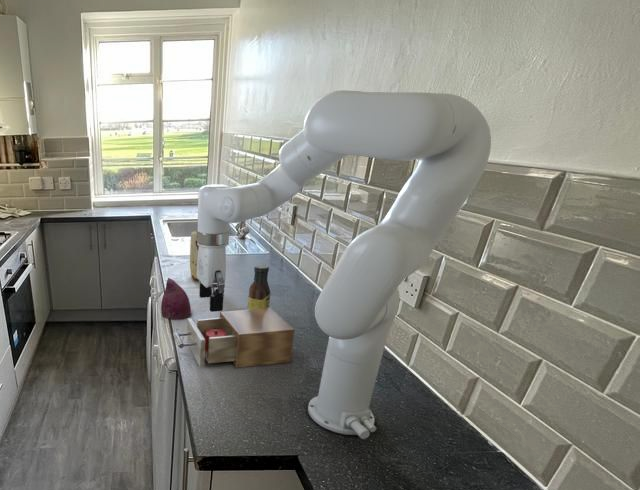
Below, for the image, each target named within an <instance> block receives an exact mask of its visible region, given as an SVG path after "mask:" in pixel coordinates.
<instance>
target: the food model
mask: <svg viewBox="0 0 640 490" xmlns="http://www.w3.org/2000/svg"><path fill="white" fill-rule="evenodd" d="M197 231H198V230H195V231H192V232H191V234H190V244H189V245H190V246H189V270H190V276H191V279H193V280H194V281H199V279H198V278H197V259H198V248H199V246H198V245H197Z"/></svg>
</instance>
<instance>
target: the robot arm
mask: <svg viewBox="0 0 640 490" xmlns="http://www.w3.org/2000/svg"><path fill="white" fill-rule="evenodd" d="M303 122H304V123H303V129H301V131H299V132H298V133H297V134H295V135H294V136H293V137H292V138H291V139H289V140H288V141H287V142H285V143H284V144H283V145H281V147H280V149H279V152H278V161H279V164H278V165H277V166H276V167H275V168H274V169H272V171H270V172H269V173H267V175H265V176H264V177H262V178H261V179H260V180H258V181H256V182H254V183H249V184H244V185H238V186H233V187H230V186H229V185H227V184H206V185H203V186H201V187H200V188H199V190H198V195H197V230H196V231H197V245H198V246H199V248H198V259H197V278H198V279H199V280H198V281H199V295H198V296H199V298H200V299H204V298H209V312H211V313H214V312H223V310H224V297H225V286H226V277H227V276H226V274H227V251H226V250H227V249H226V247H228V246H229V244H230V243H229V242H230V226H231V225H230V224H237V223H242V222H245V221H248V220H253V219H256V218H260V217H263V216H265V215H267V214H270V213H271V212H273V211H274V210H276V209H277V208H279V207H281V206H282V205H283V204H285V203H286V202H288V201H290V200H291V199H292V198H293V197H295V196H296V195H297V194H298V193H300V191H301V190H302V189H304V188H305V187H306V186H307V184H308V183H309V182H311V181H312V180H313V179H315V178H317V177H318V176H320V175H321V174H322V173H324V172H325V171H327V170H328V169H330V168H331V167H333V166H334V165H335V164H337V163H339V162H340V161H342V160H343V159H345V158H346V157H348V156H356V157H364V158H372V159H380V160H389V161H399V162H400V161H404V162H405V161H406V162H407V161H414V160H415V161H416V160H418V162H417V166H416V168H415V169H414V171H413V173H412V174H411V175H410V176H409V178H408V180H407V181H406V182H405V183H404V185H403V186H402V188H401V189H400V190H399V193H398V194H397V197H396V199H395V201H394V202H393V204H392V205H391V207H390V208H389V210H388V212H387V213H386V215H385V216H384V218H383V219H382V220H381V221H380V222H379V223H378V224H377V225H375V226H373V227H371V228H369V229H367V230H365V231H363V232H361V233H360V234H358V235H357V236H356V237H355V238H354V239H352V241H350V243H349V244H348V245H347V247H346V248H345V249H344V250H343V252H342V254H341V256H340V258H339V259H338V260H337V262H336V264H335V266H334V268H333V270H332V272H331V273H330V275H329V277H328V279H327V280H326V283H325V284H324V286H323V288H322V290H321V292H320V293H319V295H318V297H317V300H316V302H315V306H314V307H315V308H314V318H315V322H316V324H317V325H318V327H319V329H320V330H321V331H322V332H323V333H324V334H325V335H327V336H328V342H327V346H326V351H325V356H324V362H323V367H322V372H321V377H320V383H319V390H318V394H317V395H316V396H314V397H313V398H311V399H310V401H309V402H308V404H307V413H308V415H309V416H310V418H311V419H312V420H313V421H314V422H315V423H316V424H318V425H319V426H320V427H322V428H324V429H325V430H329V431H330V432H333V433H337V434H340V435H346V436H358V437H359V438H360V439H362V440H364V439H367V438H369V436H370V435H371V433H374V432H376V431H377V426H375V422H376V421H375V420H376V419H375V415H374V414H373V411H372V410H371V409H370V405H371V401H372V397H373V393H374V389H375V385H376V382H377V378H378V375H379V370H380V366H381V362H382V359H383V355H384V351H385V347H386V343H387V340H388V337H389V334H390V332H391V329H392V326H393V324H394V322H395V318H396V316H397V313H398V310H399V306H400V299H401V298H400V291H399V286H400V285H401V284H402V282H403V281H405V279H407V278H409V277H410V276H411V275H413V274H414V273H415V272H417V271H418V270H419V269H420V268H421V267H423V266H424V264H425V263H426V262H427V260H428V259H429V256H431V254H432V252H433V250H434V249H435V248H436V246H437V245H438V243H439V241H440V240H441V239H442V237H443V235H444V234H445V233H446V231H447V230H448V228H449V227H450V225H451V224H452V222H453V221H454V219H455V218H456V217H457V215H458V213H459V211H460V210H461V209H462V207H463V206H464V204H465V203H466V201H468V199H469V197H470V196H471V194H472V192H473V191H474V189H475V188H476V186H477V185H478V183H479V182H480V179H481V177H482V176H483V173H484V171H485V169H486V167H487V164H488V161H489V158H490V154H491V147H492V136H491V129H490V126H489V124H488V121H487V119H486V118H485V116H484V114H483V112H481V111H480V110H479V108H478V107H477V106H476V105H475V104H474V103H472V102H471V101H469V100H468V99H467V98H464V97H462V96H459V95H456V94H453V93H443V92H419V91H418V92H411V91H410V92H407V91H406V92H405V91H404V92H403V91H401V92H399V91H398V92H397V91H395V92H392V91H391V92H390V91H389V92H388V91H387V92H386V91H360V90H346V89H345V90H344V89H343V90H334V91H331V92H329V93H326V94H324V95H323V96H321V97H320V98H319V99H318V100H316V101H315V102H314V103H313V105H312V106H311V107H310V109H309V110H308V112H307V113H306V116H305V118H304V121H303Z"/></svg>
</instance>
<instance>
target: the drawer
mask: <svg viewBox="0 0 640 490" xmlns="http://www.w3.org/2000/svg"><path fill="white" fill-rule="evenodd" d="M186 323H187V326H186V328H187V329H186V332H180V333H178V332H177V331H175V332H173V334H172V336H173V338H174V340H175V342H176V344H177V346H178V348H179V349H183V348H184V347H189V349H190V351H191V354H192V355H193V357H194V359H195V361H196V363H197V365H198V366H199V368H202V367H205V361H207V363H208V364H217V363H226V362H232V361H236V352H237V339H238V336H237V335H236V333H235V332H234V331H233V330H232V328H231V327H230V326H229V325H228V324H227V322H226V321H225V320H224V319H223V317H221V318H220V317H211V318H201V319H200V318H199V319H196V323H195V321H194V320H193V318H191V317H189V318H187V321H186ZM210 329H220V330H223V331H225V332H226V336H220V337H210V338H209V346H208V351H206V349H205V341H206V331H208V330H210ZM181 337H186V343H185V342H184V343H183V340H182V338H181Z"/></svg>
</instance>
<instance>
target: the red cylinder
mask: <svg viewBox="0 0 640 490" xmlns="http://www.w3.org/2000/svg"><path fill="white" fill-rule="evenodd" d="M220 336H226V332H225V331H223V330H220V329H210V330H208V331H206V341H205V349H206V351H208V346H209V338H210V337H220Z"/></svg>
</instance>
